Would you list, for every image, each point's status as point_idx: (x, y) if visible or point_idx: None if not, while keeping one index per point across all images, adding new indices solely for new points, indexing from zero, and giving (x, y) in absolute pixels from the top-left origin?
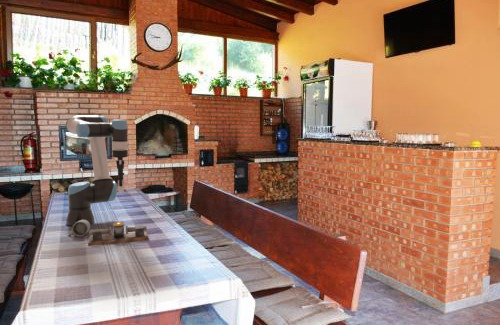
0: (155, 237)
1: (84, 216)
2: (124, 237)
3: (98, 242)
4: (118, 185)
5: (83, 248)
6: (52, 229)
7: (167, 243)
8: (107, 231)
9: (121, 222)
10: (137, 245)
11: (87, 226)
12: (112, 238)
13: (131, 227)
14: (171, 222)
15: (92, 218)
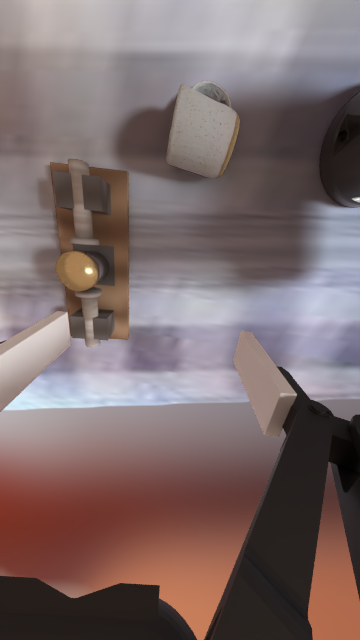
0: (92, 349)
1: (350, 154)
2: None
3: (54, 199)
4: (21, 337)
5: (26, 147)
6: (334, 6)
7: None
8: (75, 230)
9: (79, 282)
10: (32, 302)
11: (168, 158)
12: (78, 245)
13: (84, 307)
14: (213, 401)
15: (346, 196)
